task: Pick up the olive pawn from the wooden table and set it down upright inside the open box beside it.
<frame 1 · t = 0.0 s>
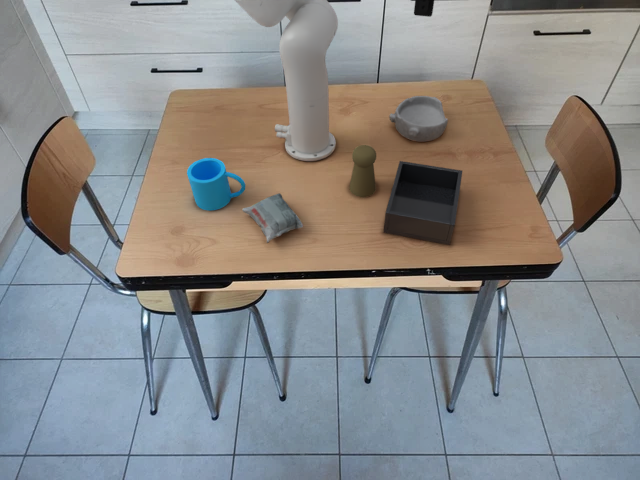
hand: (426, 3, 90), 37 cm above the table, tool pointing down, fingers open, 9 cm apart
olive pawn: (362, 188, 111), on the table
open box: (421, 211, 106), on the table
mug: (221, 198, 110), on the table
dish: (418, 128, 126), on the table
packaged food: (272, 225, 104), on the table
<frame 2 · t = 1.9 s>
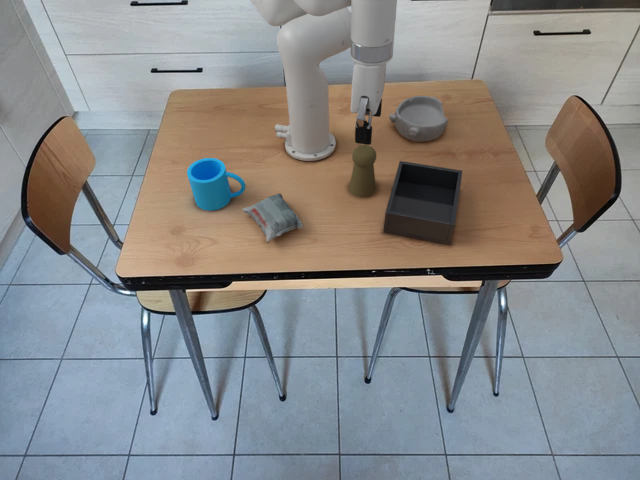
hand: (368, 128, 99), 16 cm above the table, tool pointing down, fingers open, 9 cm apart
nothing on the table moved.
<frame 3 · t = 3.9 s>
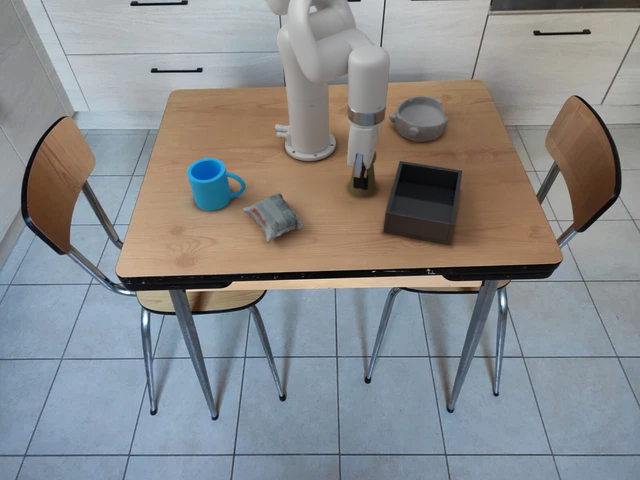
hand: (363, 180, 109), 2 cm above the table, tool pointing down, fingers closed on olive pawn, 4 cm apart
olive pawn: (362, 188, 111), on the table, touching gripper
everything else where it was.
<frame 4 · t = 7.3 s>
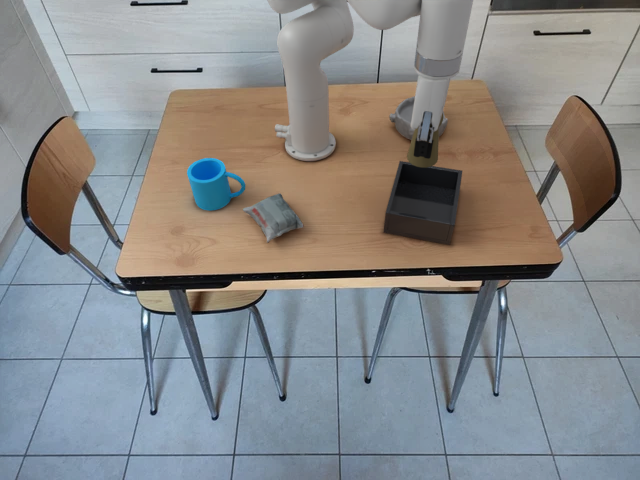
hand: (423, 148, 94), 16 cm above the table, tool pointing down, fingers closed on olive pawn, 4 cm apart
olive pawn: (422, 158, 96), point 14 cm above the table, touching gripper
everything else where it was.
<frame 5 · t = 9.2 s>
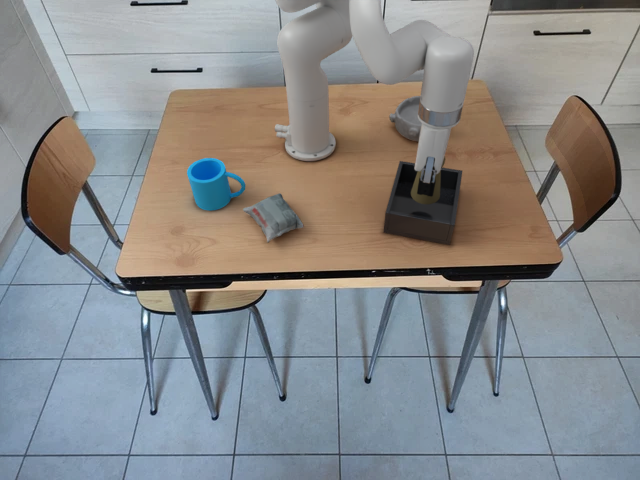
hand: (426, 186, 100), 7 cm above the table, tool pointing down, fingers closed on olive pawn, 4 cm apart
olive pawn: (425, 194, 102), point 5 cm above the table, touching gripper
everything else where it was.
when the fingers open (3 cm above the table, at t = 10.6 s): olive pawn stays where it is, resting on open box.
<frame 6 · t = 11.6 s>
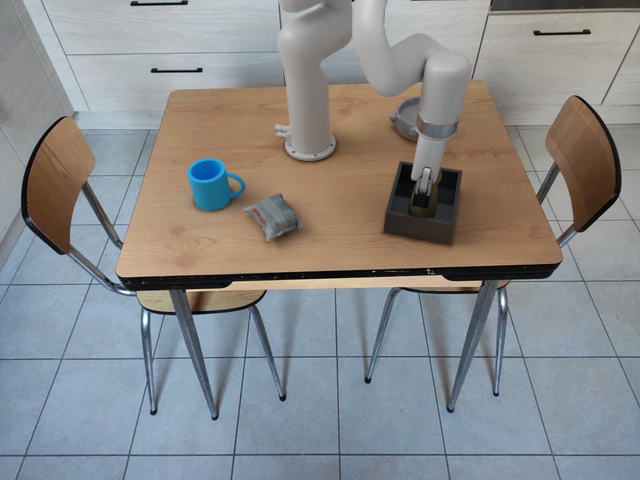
hand: (423, 190, 102), 6 cm above the table, tool pointing down, fingers open, 9 cm apart
olive pawn: (422, 208, 105), point 1 cm above the table, touching open box
everything else where it was.
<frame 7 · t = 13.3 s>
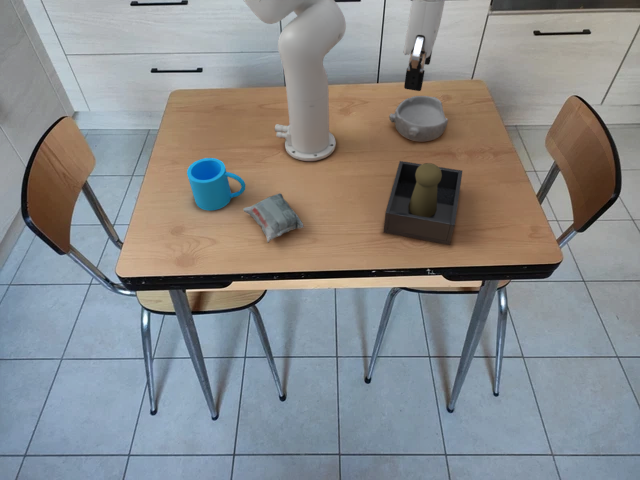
hand: (417, 75, 94), 25 cm above the table, tool pointing down, fingers open, 9 cm apart
nothing on the table moved.
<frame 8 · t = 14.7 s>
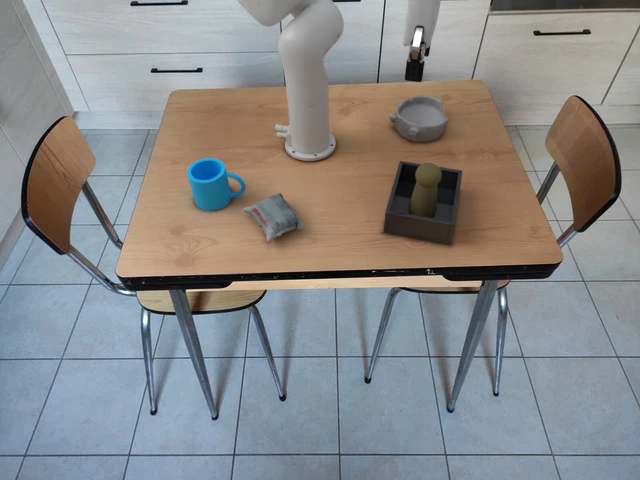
hand: (417, 67, 95), 26 cm above the table, tool pointing down, fingers open, 9 cm apart
nothing on the table moved.
at the end: olive pawn inside the target area in the open box (0.0 cm from its centre), point 0.8 cm above the open box's base; the gripper is holding nothing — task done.
